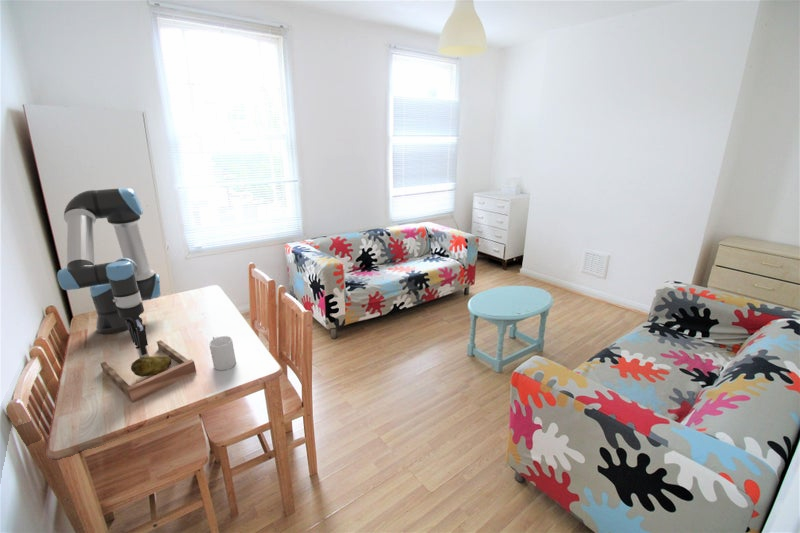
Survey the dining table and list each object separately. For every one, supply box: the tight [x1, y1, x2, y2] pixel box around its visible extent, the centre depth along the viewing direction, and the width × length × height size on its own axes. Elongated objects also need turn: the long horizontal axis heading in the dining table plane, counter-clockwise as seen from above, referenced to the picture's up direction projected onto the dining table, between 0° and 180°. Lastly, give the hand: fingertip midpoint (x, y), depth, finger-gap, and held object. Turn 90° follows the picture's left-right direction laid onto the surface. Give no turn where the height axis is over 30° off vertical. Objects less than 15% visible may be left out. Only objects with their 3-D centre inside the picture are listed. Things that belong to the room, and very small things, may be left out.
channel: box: [100, 339, 197, 403], centre depth 140 cm, size 30×21×5 cm
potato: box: [130, 355, 173, 377], centre depth 138 cm, size 8×13×8 cm, turn 132°
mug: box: [208, 335, 237, 371], centre depth 144 cm, size 12×8×10 cm, turn 43°
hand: (145, 360), depth 140 cm, fingers closed
